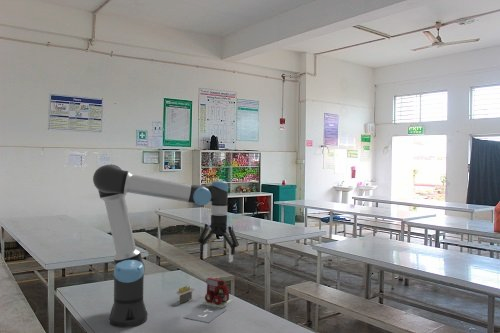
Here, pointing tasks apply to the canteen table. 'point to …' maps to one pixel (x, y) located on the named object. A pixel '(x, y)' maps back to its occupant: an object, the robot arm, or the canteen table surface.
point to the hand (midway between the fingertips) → (217, 259)
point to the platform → (185, 293)
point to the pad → (217, 305)
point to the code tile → (205, 313)
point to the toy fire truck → (216, 291)
